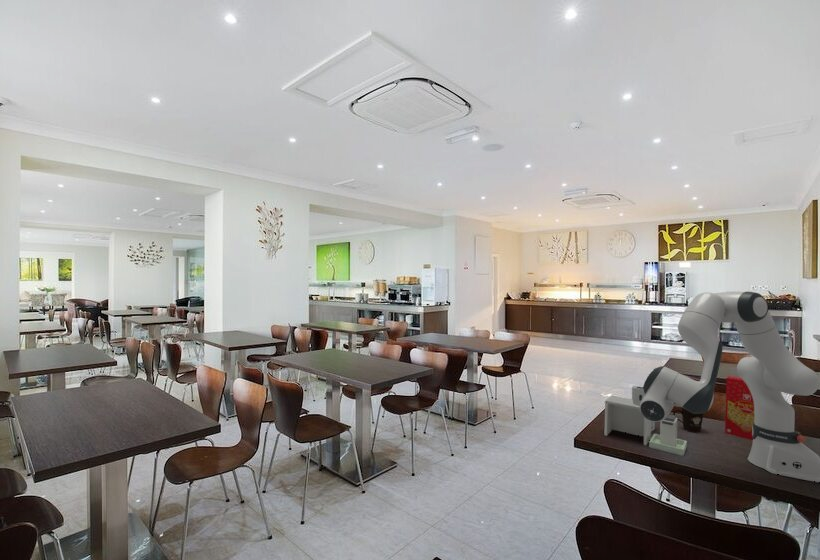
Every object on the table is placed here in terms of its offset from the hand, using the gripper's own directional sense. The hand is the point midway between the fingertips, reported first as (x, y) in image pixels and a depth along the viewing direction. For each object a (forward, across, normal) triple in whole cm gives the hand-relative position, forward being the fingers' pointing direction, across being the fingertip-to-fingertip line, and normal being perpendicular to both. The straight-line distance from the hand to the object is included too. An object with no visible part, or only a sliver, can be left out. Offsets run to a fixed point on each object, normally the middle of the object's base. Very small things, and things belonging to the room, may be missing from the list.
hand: (665, 391), depth 154 cm
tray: (+12, +1, +25) cm, 28 cm away
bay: (+13, +16, +25) cm, 32 cm away
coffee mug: (+43, -3, +26) cm, 50 cm away
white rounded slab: (+30, +13, +26) cm, 41 cm away
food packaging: (+50, -24, +27) cm, 61 cm away
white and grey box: (+12, 0, +25) cm, 27 cm away
